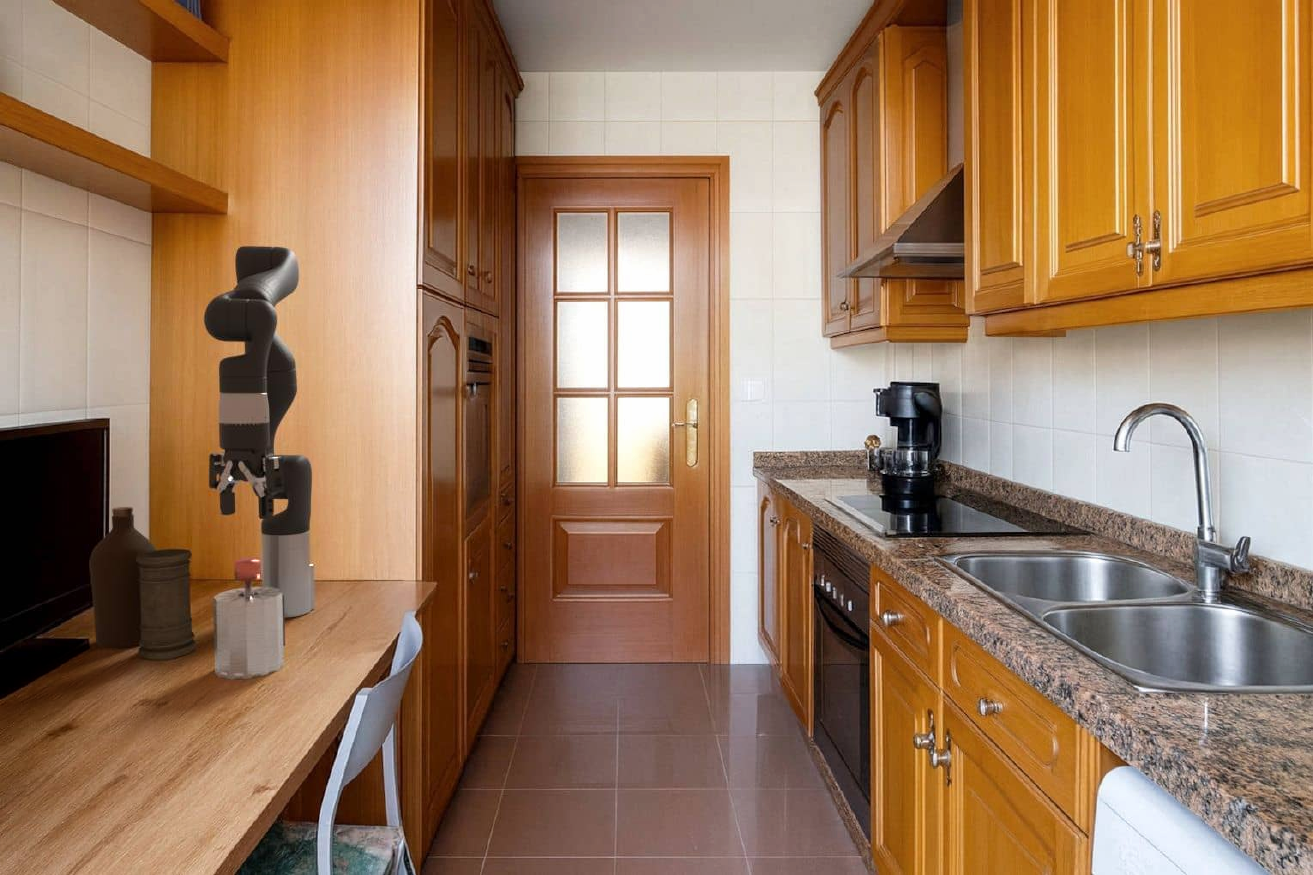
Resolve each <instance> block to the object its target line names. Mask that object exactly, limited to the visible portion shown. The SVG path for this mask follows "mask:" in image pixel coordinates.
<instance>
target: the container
mask: <svg viewBox="0 0 1313 875" xmlns="http://www.w3.org/2000/svg"><path fill="white" fill-rule="evenodd" d="M191 558H192V552H191V550H189V549H183V548H166V549H156V550H154V551H149V552H144V553H141V554H139V555H138V556H137V558H136V561H137V563H139V564H140V565H139V566H138V568H139V570H140V577H139V581H140V600H141V624H140V629H141V639H140V641H139V645H138V646H139V648H138V650H137V654H138V657H140V658H141V659H143V660H144V659H145V660H151V661H160V660H169V659H175V658H179V657H183V656H184V655H189V654H190V653H192V652H193V651H194V650H195V649H196V645H197V644H196V640H195V639H194V638H195V635H196V634H194V632H193V628H192V627H193V626H192V624H193V617H192V613H191V585H190V580H191V579H190V578H191V577H190V576H191V573H190V564H191V561H190V559H191Z"/></svg>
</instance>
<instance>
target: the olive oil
mask: <svg viewBox="0 0 1313 875" xmlns="http://www.w3.org/2000/svg"><path fill="white" fill-rule="evenodd" d="M111 510H112V511H111V512H112V516H111V524H112V528H111V530H110V531H109V533H107V534H106V536H104V537H103V538H102V539H101V540H100V541H99V542H98V543H97V545H95V546H94V548H93V549H92V552H91V553H90V557H89V561H88V562H89V563H88V565H89V567H88V568H89V575H90V584H91V585H90V586H91V594H92V605H93V614H94V616H93V617H94V618H93V619H94V632H95V633H94V634H95V644H96V646H97V647H98V648H100V649H105V650H106V649H107V650H111V649H112V650H114V649H115V650H116V649H127V648H134V647H137V646H140V645H139V641H140V639H141V629H140V624H141V600H140V581H139V577H140V570H139V568H138V566H139V565H140V564H139V563H137V561H136V558H137V556H138V555H139V554H141V553H144V552H149V551H154V550H157V549H156V547H155V545H154V543H153V542H152V541H151V540H150V539H148V538H147V537H146V536H145V535H143V534H142V533H141V532H140V531H138V529H136V527H135V524H134V523H135V519H134V518H135V515H134V514H133V512H134V508H133V507H131V506H120V507H114V508H112V509H111Z"/></svg>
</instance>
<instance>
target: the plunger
mask: <svg viewBox="0 0 1313 875" xmlns="http://www.w3.org/2000/svg"><path fill="white" fill-rule="evenodd" d="M233 564H234V565H233V566H234V567H233V568H234V570H233V571H234V573H233V574H234V580H235V581H242V582H243V581H244V588H245V597H250V596H252V589H251V587H252V581H253V580H258V579H260V578H262V558H260V557H244V558H242V557H241V558H238V559H235V560H234V562H233Z"/></svg>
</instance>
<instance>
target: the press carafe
mask: <svg viewBox="0 0 1313 875" xmlns="http://www.w3.org/2000/svg"><path fill="white" fill-rule="evenodd" d="M251 589H252V596H250V597H245V587H239V588H234V589H229V590H226V591H222V592H221V591H220V592H219V593H217V594H216V595H214V596H213V634H214V635H213V637H214V638H213V639H214V640H213V643H214V673H215V675H216V676H217V678H222V679H227V680H249V679H254V678H258V677H260V678H261V677H263V676H264V677H265V676H267V675H270V674H272V673H275V672H277V671H279V670H280V669H281V668H282V667H283V666H284V647H285V646H286V632H285V629H286V627H285V626H286V624H285V623H286V622H285V619H286V618H285V615H284V596H282V591H281V590H279V589H278V588H272V587H262V586H251Z"/></svg>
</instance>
